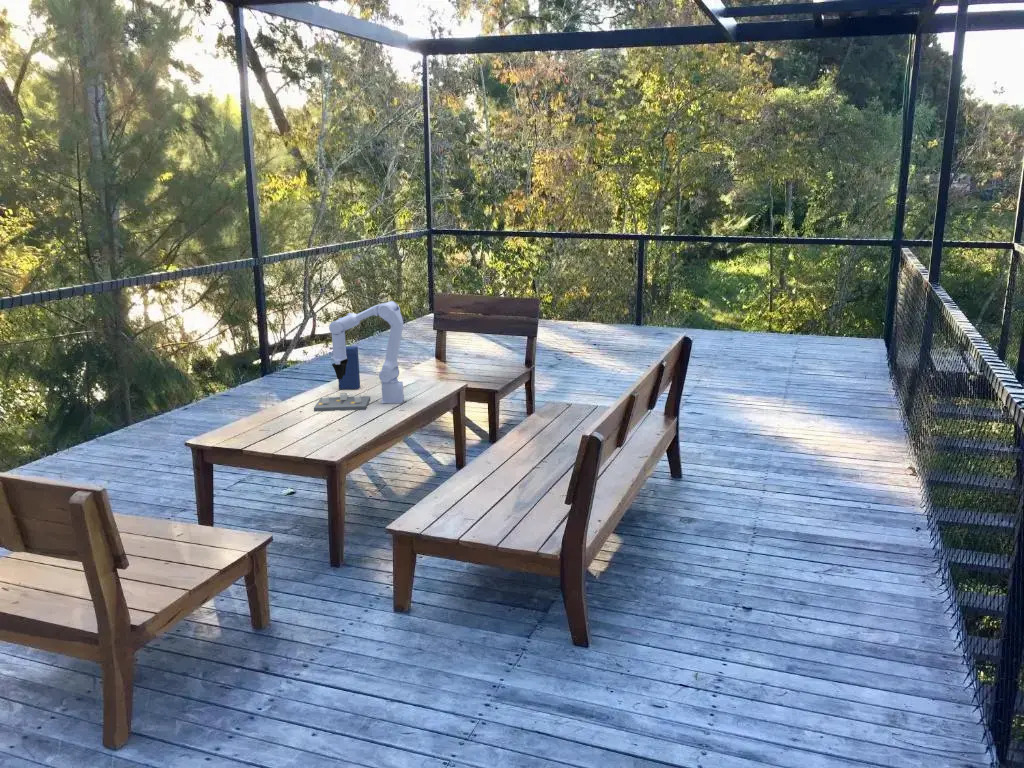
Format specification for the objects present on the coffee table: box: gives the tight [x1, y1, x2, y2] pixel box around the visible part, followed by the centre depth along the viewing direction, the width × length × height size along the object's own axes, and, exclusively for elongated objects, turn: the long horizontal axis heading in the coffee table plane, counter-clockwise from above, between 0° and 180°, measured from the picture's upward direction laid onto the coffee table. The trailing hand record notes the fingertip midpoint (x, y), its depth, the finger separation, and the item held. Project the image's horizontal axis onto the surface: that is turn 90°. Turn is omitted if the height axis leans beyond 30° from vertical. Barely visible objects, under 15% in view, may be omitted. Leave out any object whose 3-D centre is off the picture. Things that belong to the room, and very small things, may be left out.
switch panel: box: [313, 395, 372, 412], centre depth 388 cm, size 22×18×2 cm
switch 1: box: [321, 396, 330, 404], centre depth 385 cm, size 2×3×3 cm
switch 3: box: [353, 394, 362, 403], centre depth 386 cm, size 2×3×3 cm
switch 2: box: [339, 392, 348, 400], centre depth 390 cm, size 2×3×3 cm
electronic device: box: [337, 345, 361, 390], centre depth 417 cm, size 10×5×20 cm, turn 84°
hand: (341, 377), depth 395 cm, fingers open, 7 cm apart
